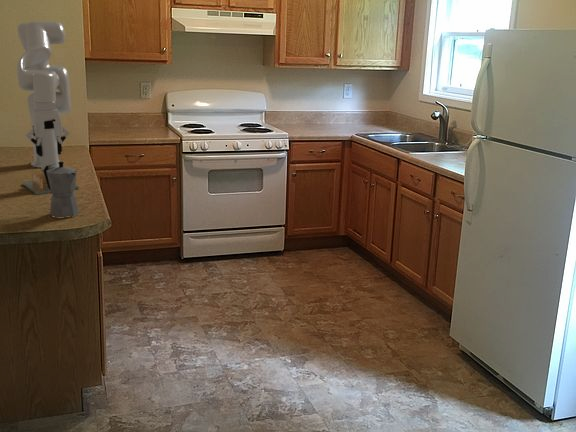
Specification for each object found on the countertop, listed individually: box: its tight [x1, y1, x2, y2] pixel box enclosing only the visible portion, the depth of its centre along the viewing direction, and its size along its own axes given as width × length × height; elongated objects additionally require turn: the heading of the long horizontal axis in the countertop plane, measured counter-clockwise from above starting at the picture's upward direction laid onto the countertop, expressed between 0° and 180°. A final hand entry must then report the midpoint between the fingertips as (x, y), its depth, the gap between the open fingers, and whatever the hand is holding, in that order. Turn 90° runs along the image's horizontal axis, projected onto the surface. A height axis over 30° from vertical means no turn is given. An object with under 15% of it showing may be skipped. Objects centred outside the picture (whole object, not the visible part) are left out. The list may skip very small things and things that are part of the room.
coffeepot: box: [44, 160, 80, 217], centre depth 208 cm, size 15×9×18 cm, turn 57°
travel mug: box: [40, 119, 59, 173], centre depth 236 cm, size 6×7×20 cm
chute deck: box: [21, 172, 80, 195], centre depth 242 cm, size 17×16×5 cm
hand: (49, 154), depth 237 cm, fingers closed on travel mug, 6 cm apart
